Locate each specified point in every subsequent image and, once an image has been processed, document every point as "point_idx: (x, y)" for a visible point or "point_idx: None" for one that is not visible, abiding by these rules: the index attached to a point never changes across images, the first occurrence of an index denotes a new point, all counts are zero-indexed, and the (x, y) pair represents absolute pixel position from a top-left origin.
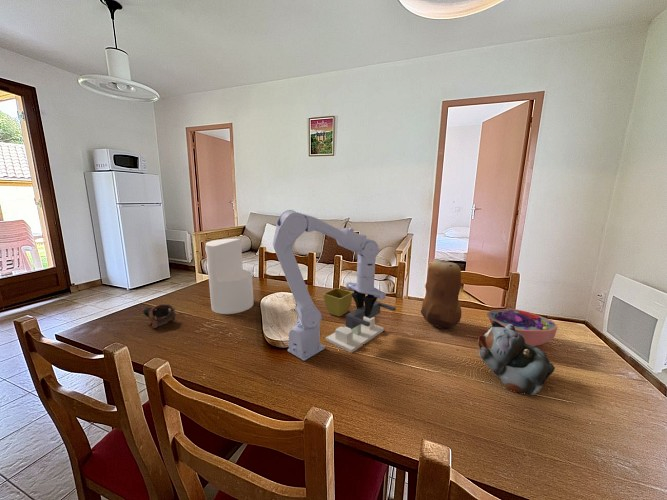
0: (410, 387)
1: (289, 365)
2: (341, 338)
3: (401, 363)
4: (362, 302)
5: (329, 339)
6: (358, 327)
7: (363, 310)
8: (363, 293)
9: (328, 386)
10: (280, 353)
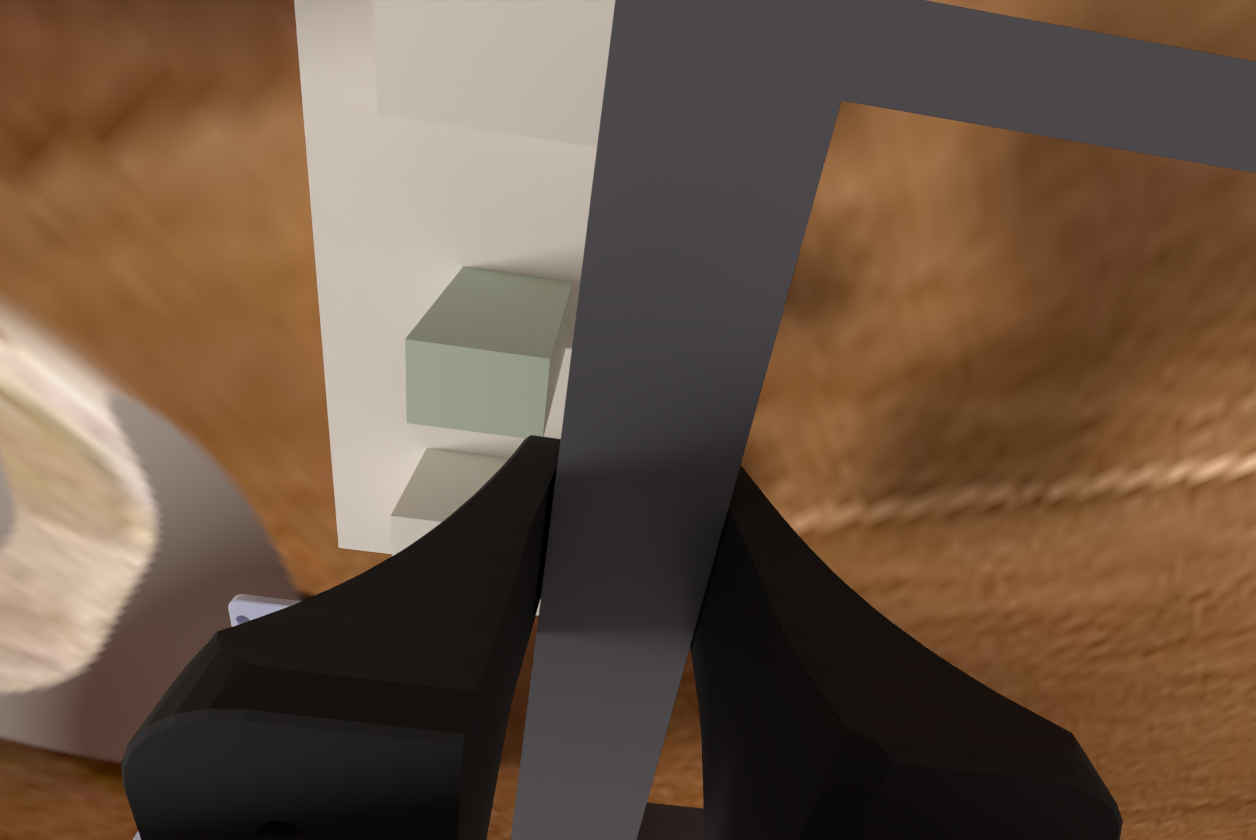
0: (1173, 665)
1: None
2: None
3: (1103, 485)
4: (521, 582)
5: (390, 553)
6: (556, 376)
7: (663, 661)
8: (469, 799)
9: None
10: None
